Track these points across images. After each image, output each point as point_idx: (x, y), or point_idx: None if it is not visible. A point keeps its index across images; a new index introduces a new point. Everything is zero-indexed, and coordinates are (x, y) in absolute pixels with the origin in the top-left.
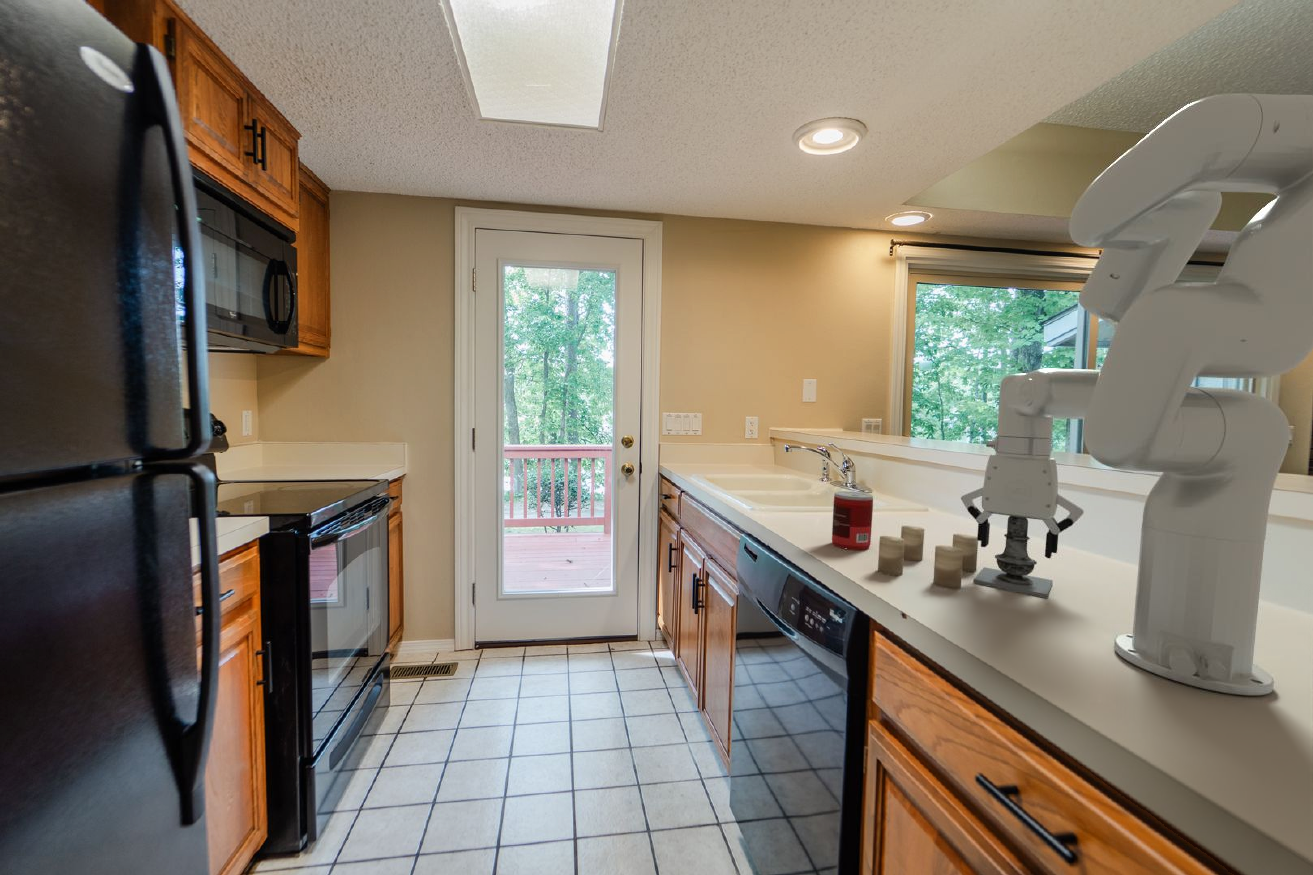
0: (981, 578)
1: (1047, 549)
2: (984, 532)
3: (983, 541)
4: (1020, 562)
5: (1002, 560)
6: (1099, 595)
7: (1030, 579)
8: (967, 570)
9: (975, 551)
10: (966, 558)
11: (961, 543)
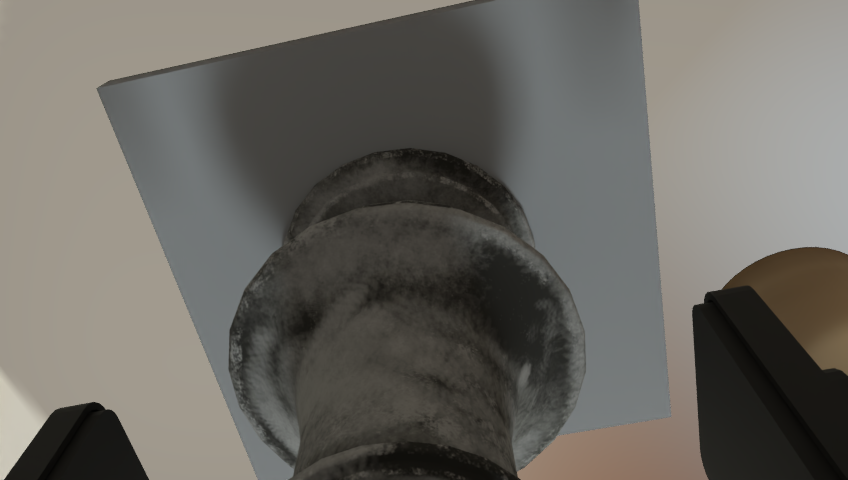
0: (592, 67)
1: (44, 465)
2: (803, 405)
3: (744, 319)
4: (310, 255)
5: (471, 217)
6: (12, 458)
7: None
8: (751, 271)
9: None
10: (813, 319)
11: None
